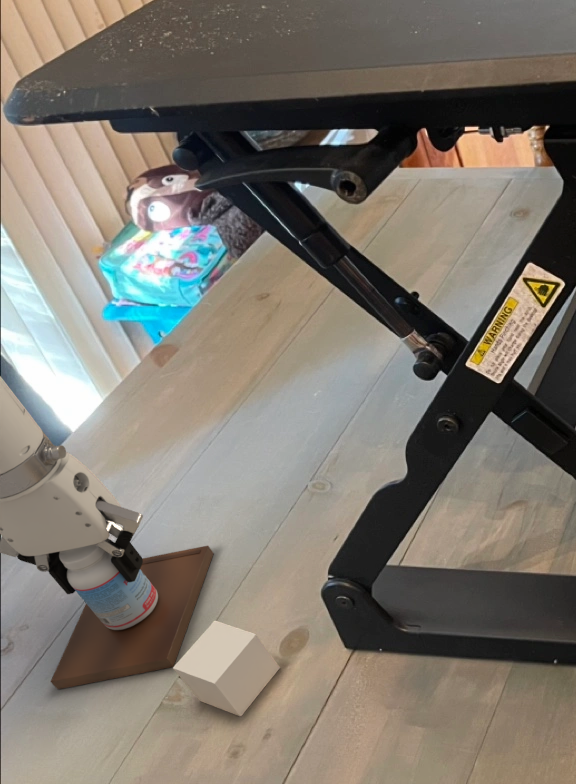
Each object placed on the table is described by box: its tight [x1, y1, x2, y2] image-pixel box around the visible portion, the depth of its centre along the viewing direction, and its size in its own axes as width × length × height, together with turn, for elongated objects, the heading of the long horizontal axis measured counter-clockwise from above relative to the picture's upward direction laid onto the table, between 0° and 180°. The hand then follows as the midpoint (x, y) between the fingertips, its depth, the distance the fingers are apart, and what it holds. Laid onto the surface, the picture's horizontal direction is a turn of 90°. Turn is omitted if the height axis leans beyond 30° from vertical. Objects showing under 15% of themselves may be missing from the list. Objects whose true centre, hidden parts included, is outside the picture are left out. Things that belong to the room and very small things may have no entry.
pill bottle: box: [59, 544, 158, 630], centre depth 118 cm, size 6×6×11 cm
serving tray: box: [50, 545, 214, 690], centre depth 121 cm, size 13×16×2 cm
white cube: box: [172, 620, 281, 717], centre depth 110 cm, size 6×6×6 cm
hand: (105, 576), depth 117 cm, fingers closed on pill bottle, 6 cm apart
